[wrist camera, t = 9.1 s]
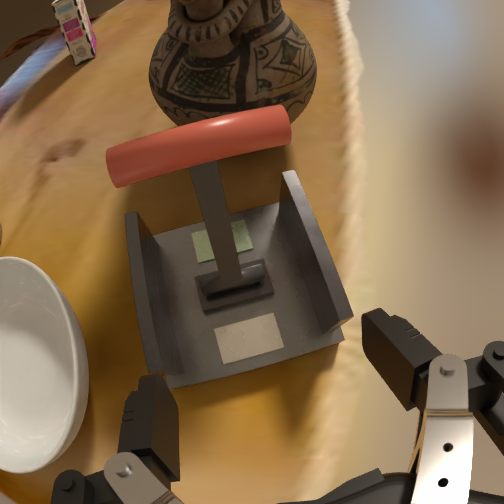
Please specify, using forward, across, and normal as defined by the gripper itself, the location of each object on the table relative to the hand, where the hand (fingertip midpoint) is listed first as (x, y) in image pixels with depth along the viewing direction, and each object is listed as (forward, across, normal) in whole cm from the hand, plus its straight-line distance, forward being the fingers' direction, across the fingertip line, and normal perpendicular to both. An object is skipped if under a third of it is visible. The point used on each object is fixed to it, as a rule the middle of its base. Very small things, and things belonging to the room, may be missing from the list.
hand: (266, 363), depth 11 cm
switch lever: (+13, 0, +2) cm, 14 cm away
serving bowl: (+14, +24, +8) cm, 29 cm away
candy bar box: (+58, +19, -37) cm, 71 cm away
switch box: (+16, 0, +5) cm, 17 cm away
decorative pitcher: (+31, -5, -9) cm, 33 cm away
